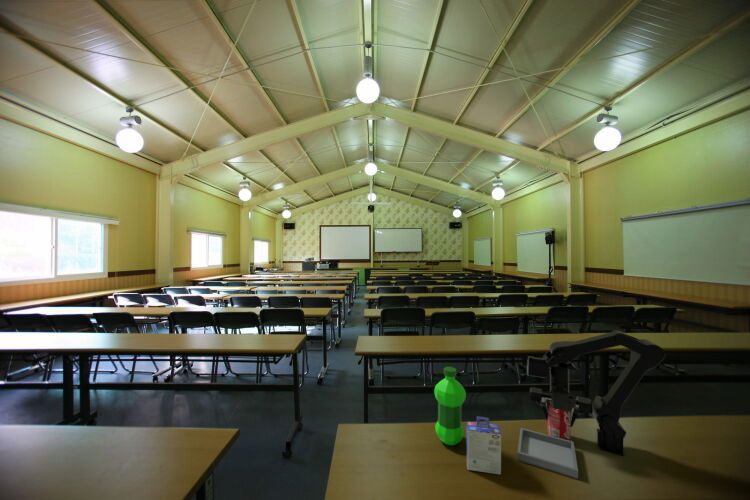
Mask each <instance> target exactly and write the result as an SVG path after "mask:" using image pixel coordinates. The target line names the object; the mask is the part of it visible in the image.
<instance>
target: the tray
mask: <svg viewBox="0 0 750 500" xmlns="http://www.w3.org/2000/svg"><path fill="white" fill-rule="evenodd" d="M516 455H517V462H521V463H525V464H527V465H531V466H535V467H537V468H541V469H544V470H547V471H550V472H553V473H556V472H557V474H559V473H560V474H559V475H562V474H563V476H566V477H569V478H573V479H576V480H579V469H578V468H579V466H578V462H577V461H578V460H577V456H576V455H577V454H576V449H575V443H574V441H572V440H565V439H561V438H557V437H554V436H550V435H549V434H546V433H542V432H538V431H535V430H530V429H527V428H523V427H520V429H519V438H518V445H517V454H516Z"/></svg>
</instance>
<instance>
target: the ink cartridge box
mask: <svg viewBox="0 0 750 500" xmlns="http://www.w3.org/2000/svg"><path fill="white" fill-rule="evenodd" d="M481 420H483V421H486V422H482V421H481ZM466 469H467V470H469V471H473V472H480V473H488V474H494V475H495V474H496V475H501V474H502V432H501V429H500V426H499V424H495V423H490V418H489V417H488V416H487V417H485V416H479V415H478V416H476V422H475V421H466Z"/></svg>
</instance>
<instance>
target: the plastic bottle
mask: <svg viewBox="0 0 750 500" xmlns="http://www.w3.org/2000/svg"><path fill="white" fill-rule="evenodd" d="M443 375H444V376H445V378H443V379H441V380H440V381H439V382H438V383H437V384H435V387H434V391H433V392H434V393H433V394H434V396H435V397H434V398H435V399H436V400H437V421H436V422H435V427H434V430H435V433H436V435H437V438H438V439H439V441H441V442H442V443H443V444H445V445H447V446H455V445H457V444H459V443H460V442H461V441H462V440H463V437H464V435H465V428H464V425H463V424H462V423H460V422H462V421H463V420H462V418H463V417H462V416H463V415H462V413H463V412H462V408H463V406H462V405H463V404H464V402H465V400H466V397H467V395H466V394H467V393H466V390H465V388H464V387H463V386H462V384H461V383H460V382H459V381H458V380H457V379H455V378H456V376H457V369H456V368H455V367H453V366H445V367H444V368H443Z"/></svg>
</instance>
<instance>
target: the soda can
mask: <svg viewBox="0 0 750 500" xmlns="http://www.w3.org/2000/svg"><path fill="white" fill-rule="evenodd" d="M570 409H571V408H569V410H568V411H564V410H560V409H554V408H553V407H552V400H549V403H548V405H547V411H548V421H547V420H546V421H547V422H546V423H547V424H546V425H547V426H546V427H547V435H550V436H554V437H557V438H561V439H565V440H569V441H571V440H570V439H571V431H572V430H571V428H572V427H571V412H572V411H571V410H570Z"/></svg>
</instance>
